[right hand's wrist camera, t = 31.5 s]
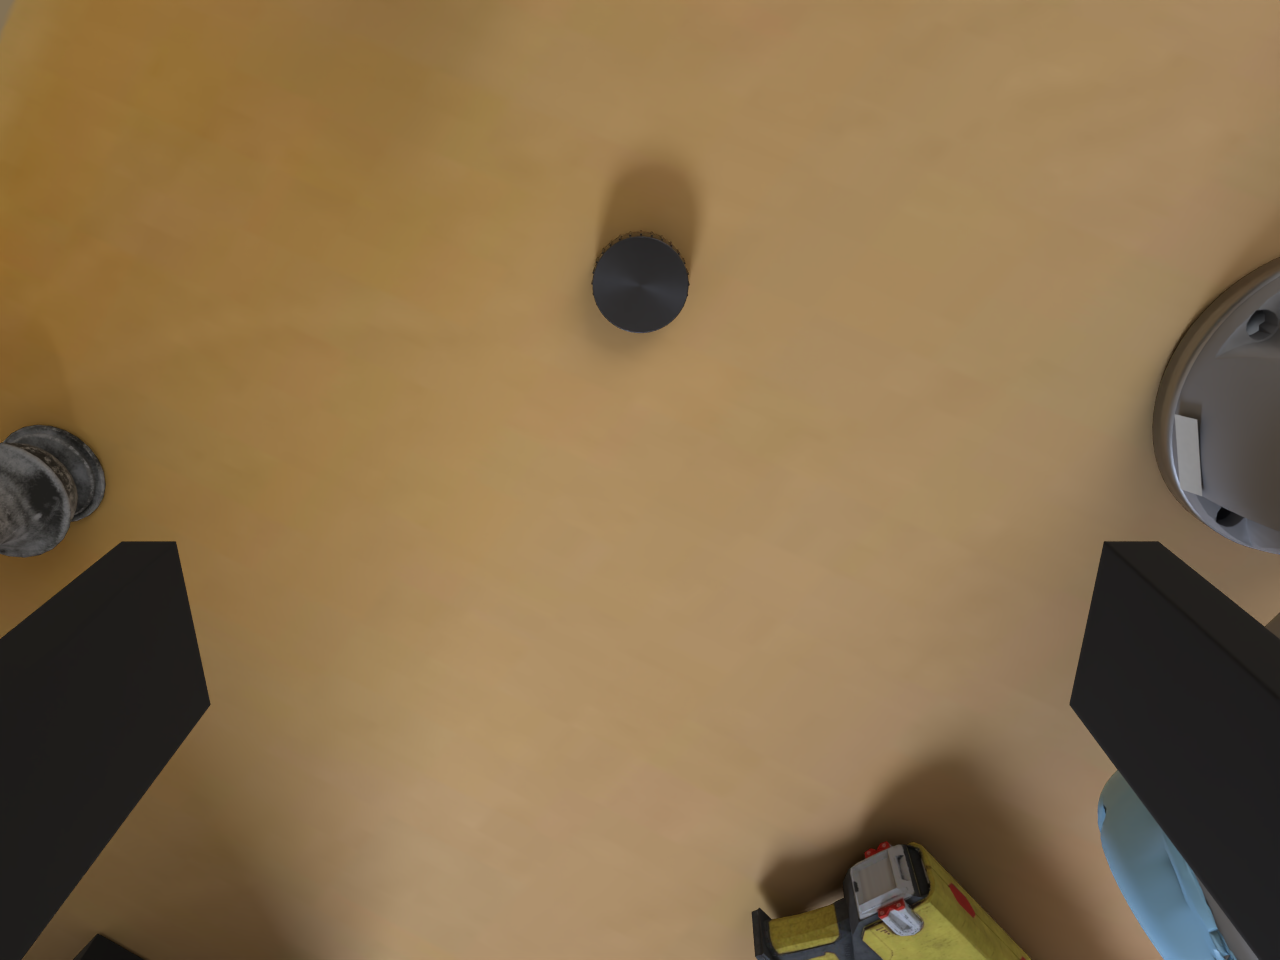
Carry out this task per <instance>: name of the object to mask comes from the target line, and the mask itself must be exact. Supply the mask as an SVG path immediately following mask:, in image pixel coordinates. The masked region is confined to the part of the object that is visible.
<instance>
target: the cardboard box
mask: <svg viewBox="0 0 1280 960" xmlns="http://www.w3.org/2000/svg"><path fill="white" fill-rule="evenodd" d="M73 960H143V959H141V958H140V957H138V956H136V955H134V954H133V953H131V952H129V951H127V950H126V949H124V948H122V947H120V946H119V945H117V944H115V943H113V942H112V941H110V940H108V939H106V938H105V937H103V936H101V935H99V934H97V935H96V936H95V937H94V938H93V939H92V940H91V941H90V942H89V943H88V945H87V946H86V947H85V948H84V949H83V950H82V951H81V952H80V953H79V954H78V955H77V956H76V957H75V958H74V959H73Z"/></svg>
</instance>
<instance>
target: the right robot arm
mask: <svg viewBox="0 0 1280 960" xmlns="http://www.w3.org/2000/svg"><path fill="white" fill-rule="evenodd" d="M1152 428H1153V445H1154V451H1155V456H1156V460H1157V464H1158V467H1159V470H1160V472H1161V475H1162V477H1163V479H1164V481H1165V483H1166V485H1167V487H1168V488H1169V490H1170V491H1171V493H1172V494H1173V496H1174V497H1175V498H1176V500H1177V501H1178V502H1179V503H1180V504H1181V505H1182V506H1183V507H1184V508H1185V509H1186V510H1187V511H1188V512H1190V513H1191V514H1192V515H1193V516H1195V517H1196V518H1197V519H1199V520H1200V521H1202V522H1203V523H1204V524H1206V525H1207V526H1209V527H1210V528H1212V529H1213V530H1214V531H1216V532H1218V533H1219V534H1221V535H1222V536H1224V537H1226V538H1228V539H1230V540H1232V541H1234V542H1236V543H1238V544H1241V545H1244V546H1247V547H1250V548H1254V549H1257V550H1261V551H1265V552H1269V553H1274V554H1279V555H1280V257H1279V258H1277V259H1274V260H1272V261H1270V262H1268V263H1267V264H1265V265H1263V266H1261V267H1259V268H1257V269H1256V270H1254V271H1252V272H1251V273H1249V274H1248V275H1246V276H1245V277H1243V278H1242V279H1240V280H1239V281H1238V282H1236V283H1235V284H1234V285H1232V286H1231V287H1230V288H1228V289H1227V290H1226V291H1225V292H1224V293H1222V294H1221V295H1220V296H1219V297H1218V298H1217V299H1216V300H1215V301H1214V302H1213V303H1212V304H1211V305H1210V306H1209V307H1208V308H1207V309H1206V310H1205V311H1204V312H1203V313H1202V314H1201V315H1200V316H1199V318H1198V319H1197V320H1196V321H1195V322H1194V323H1193V325H1192V326H1191V327H1190V329H1189V330H1188V331H1187V333H1186V334H1185V336H1184V337H1183V338H1182V340H1181V342H1180V343H1179V345H1178V347H1177V348H1176V350H1175V352H1174V353H1173V355H1172V357H1171V359H1170V361H1169V363H1168V365H1167V368H1166V370H1165V372H1164V375H1163V378H1162V380H1161V383H1160V386H1159V390H1158V393H1157V397H1156V402H1155V407H1154V413H1153V427H1152ZM209 706H210V700H209V695H208V690H207V686H206V681H205V676H204V672H203V667H202V662H201V657H200V653H199V648H198V643H197V639H196V634H195V629H194V624H193V620H192V615H191V610H190V606H189V601H188V596H187V591H186V587H185V582H184V577H183V573H182V568H181V563H180V558H179V554H178V549H177V544H176V542H121V543H119V544H118V545H117V546H116V547H114V548H113V549H112V550H111V551H109V552H108V553H107V554H106V555H104V556H103V557H102V558H101V559H99V560H98V561H97V562H96V563H94V564H93V565H92V566H91V567H89V568H88V569H87V570H86V571H84V572H83V573H82V574H81V575H79V576H78V577H77V578H76V579H74V580H73V581H72V582H71V583H69V584H68V585H67V586H66V587H64V588H63V589H62V590H61V591H59V592H58V593H57V594H56V595H54V596H53V597H52V598H51V599H49V600H48V601H47V602H46V603H44V604H43V605H42V606H41V607H39V608H38V609H37V610H36V611H35V612H33V613H32V614H31V615H30V616H28V617H27V618H26V619H25V620H23V621H22V622H21V623H20V624H18V625H17V626H16V627H15V628H13V629H12V630H11V631H10V632H8V633H7V634H6V635H5V636H3V637H2V638H1V639H0V960H21V959H22V958H23V957H24V955H25V954H26V953H27V951H28V950H29V949H30V947H31V946H32V945H33V943H34V942H35V940H36V939H37V938H38V936H39V935H40V934H41V932H42V931H43V930H44V928H45V927H46V926H47V924H48V923H49V922H50V920H51V919H52V918H53V916H54V915H55V914H56V912H57V911H58V910H59V908H60V907H61V905H62V904H63V903H64V901H65V900H66V899H67V897H68V896H69V895H70V893H71V892H72V891H73V889H74V888H75V887H76V885H77V884H78V883H79V881H80V880H81V879H82V877H83V876H84V874H85V873H86V872H87V870H88V869H89V868H90V866H91V865H92V864H93V862H94V861H95V860H96V858H97V857H98V856H99V854H100V853H101V852H102V850H103V849H104V848H105V846H106V845H107V843H108V842H109V841H110V839H111V838H112V837H113V835H114V834H115V833H116V831H117V830H118V829H119V827H120V826H121V825H122V823H123V822H124V821H125V819H126V818H127V817H128V815H129V814H130V812H131V811H132V810H133V808H134V807H135V806H136V804H137V803H138V802H139V800H140V799H141V798H142V796H143V795H144V794H145V792H146V791H147V790H148V788H149V787H150V786H151V784H152V783H153V781H154V780H155V779H156V777H157V776H158V775H159V773H160V772H161V771H162V769H163V768H164V767H165V765H166V764H167V763H168V761H169V760H170V759H171V757H172V756H173V755H174V753H175V752H176V750H177V749H178V748H179V746H180V745H181V744H182V742H183V741H184V740H185V738H186V737H187V736H188V734H189V733H190V732H191V730H192V729H193V728H194V726H195V725H196V724H197V722H198V721H199V719H200V718H201V717H202V715H203V714H204V713H205V711H206V710H207V709H208V707H209ZM1070 706H1071V707H1072V709H1073V710H1074V711H1075V713H1076V714H1077V715H1078V717H1079V718H1080V719H1081V721H1082V722H1083V724H1084V725H1085V726H1086V728H1087V729H1088V730H1089V732H1090V733H1091V734H1092V736H1093V737H1094V738H1095V740H1096V741H1097V742H1098V744H1099V745H1100V746H1101V748H1102V749H1103V750H1104V752H1105V753H1106V755H1107V756H1108V757H1109V759H1110V760H1111V761H1112V763H1113V764H1114V765H1115V767H1116V768H1117V769H1118V770H1117V771H1116V772H1115V773H1114V774H1113V775H1112V776H1111V778H1110V779H1109V780H1108V781H1107V783H1106V784H1105V786H1104V788H1103V790H1102V792H1101V795H1100V798H1099V803H1098V825H1099V829H1100V832H1101V841H1102V847H1103V850H1104V853H1105V856H1106V859H1107V861H1108V864H1109V867H1110V869H1111V871H1112V874H1113V876H1114V878H1115V880H1116V882H1117V884H1118V886H1119V888H1120V890H1121V892H1122V894H1123V896H1124V898H1125V899H1126V901H1127V903H1128V905H1129V907H1130V908H1131V910H1132V912H1133V914H1134V915H1135V917H1136V918H1137V920H1138V922H1139V923H1140V925H1141V927H1142V928H1143V930H1144V931H1145V933H1146V934H1147V936H1148V937H1149V939H1150V940H1151V942H1152V943H1153V945H1154V946H1155V948H1156V949H1157V950H1158V952H1159V953H1160V955H1161V956H1162V957H1163V959H1164V960H1280V613H1279V614H1278V615H1277V616H1276V617H1274V618H1273V619H1272V620H1271V621H1270V622H1269V623H1268V624H1267V625H1266V626H1265V627H1264V626H1263V625H1262V624H1260V623H1259V622H1258V621H1257V620H1255V619H1254V618H1253V617H1252V616H1250V615H1249V614H1248V613H1247V612H1245V611H1244V610H1243V609H1242V608H1241V607H1239V606H1238V605H1237V604H1236V603H1234V602H1233V601H1232V600H1231V599H1229V598H1228V597H1227V596H1226V595H1224V594H1223V593H1222V592H1221V591H1219V590H1218V589H1217V588H1216V587H1214V586H1213V585H1212V584H1211V583H1209V582H1208V581H1207V580H1206V579H1204V578H1203V577H1202V576H1201V575H1199V574H1198V573H1197V572H1196V571H1194V570H1193V569H1192V568H1191V567H1189V566H1188V565H1187V564H1186V563H1184V562H1183V561H1182V560H1181V559H1179V558H1178V557H1177V556H1176V555H1174V554H1173V553H1172V552H1171V551H1169V550H1168V549H1167V548H1166V547H1164V546H1163V545H1162V544H1161V543H1159V542H1104V544H1103V549H1102V554H1101V558H1100V563H1099V568H1098V573H1097V577H1096V582H1095V587H1094V591H1093V596H1092V601H1091V606H1090V610H1089V615H1088V620H1087V624H1086V629H1085V634H1084V639H1083V643H1082V648H1081V653H1080V657H1079V662H1078V667H1077V672H1076V676H1075V681H1074V686H1073V690H1072V695H1071V700H1070Z"/></svg>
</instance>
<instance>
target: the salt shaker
mask: <svg viewBox="0 0 1280 960" xmlns="http://www.w3.org/2000/svg"><path fill="white" fill-rule="evenodd" d="M104 491H105V478H104V472H103V469H102V467H101V465H100V462H99V460H98V459H97V457H96V456H95V454H94V453H93V452H92V450H91V449H90V448H89V447H88V446H87V445H86V444H85V443H84V442H82V441H81V440H80V439H79V438H78V437H76V436H74V435H72V434H71V433H69V432H67V431H65V430H62V429H59V428H56V427H53V426H45V425H33V426H28V427H23V428H21V429H19V430H17V431H15V432H13V433H11V434H10V435H9V436H8V437H7V438H6V439H5V440H4V442H3V443H0V554H3V555H6V556H13V557H30V556H36V555H41V554H43V553H45V552H47V551H49V550H51V549H53V548H54V547H55V546H56V545H57V544H59V543H60V542H61V541H62V540H63V539H64V537H65V535H66V533H67V531H68V529H69V527H70V523H71V522H72V521H78V520H80V519H82V518H84V517H86V516H89V515H90V514H91V513H92V512H93V511H94V510H95V509H96V508H97V507H98V506H99V504H100V503H101V501H102V499H103V497H104Z"/></svg>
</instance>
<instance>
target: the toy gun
mask: <svg viewBox="0 0 1280 960" xmlns="http://www.w3.org/2000/svg"><path fill="white" fill-rule="evenodd" d="M864 853H865V859H864V860H862V861H860V862H858V863H857V864H855V865H854V866H853V867H851V868H850V869H848V872H847V874H846V876H845V879H844V881H843V890H844V898H843V899H841V900H838V901H836V902H835V903H833V904H831V905H829V906H825V907H822V908H819V909H815V910H812V911H809V912H805V913H802V914H798V915H793V916H788V917H783V918H777V919H771V918H770V917H769V916H768V915H767V914H766V913H765V912H763V911H762V910H761V909H760V908H759V909H758V910H755V911H753V912H752V922H753V934H754V946H755V957H756V958H757V959H758V960H1031V958H1030V957H1029V956H1028V955H1027V954H1026V953H1025V952H1024V951H1023V950H1022V949H1021V948H1020V947H1019V946H1018V945H1017V944H1016V943H1015V942H1014V941H1013V940H1012V939H1011V938H1010V937H1009V936H1008V935H1007V933H1006V932H1005V931H1004V930H1003V929H1002V928H1001V927H1000V926H999V925H998V924H997V923H996V922H995V921H994V920H993V919H992V918H991V917H990V916H989V915H988V914H987V913H986V912H985V911H984V910H983V909H982V907H981V906H980V905H979V904H978V903H977V902H976V901H975V900H974V899H973V898H972V897H971V896H970V895H969V894H968V893H967V892H966V891H965V890H964V889H963V888H962V887H961V886H960V885H959V884H958V882H957V881H956V880H955V879H954V878H953V877H952V876H951V875H950V874H949V873H948V872H947V871H946V870H945V869H944V868H943V867H942V866H941V865H940V864H939V863H938V862H937V861H936V860H935V859H934V858H933V856H932V855H931V854H930V853H929V852H928V851H927V850H926V849H925V848H924V847H923V846H922V845H920V844H917V843H915V842H911V843H909V844H907V845H902V844H899V845H896V846H892V845H891V844H889V843H888V842H887V841H886V842H883V843H880V845H879V846H878V848H877V850H875V849H872V848H870V849H869V850H867V851H866V852H864Z"/></svg>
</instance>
